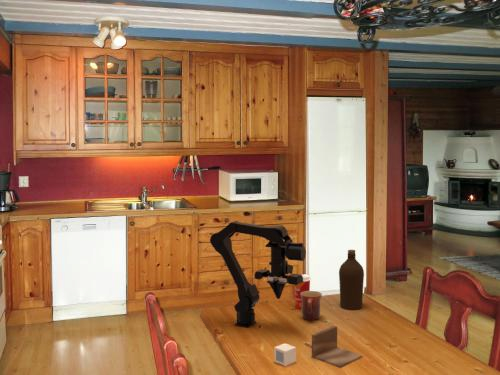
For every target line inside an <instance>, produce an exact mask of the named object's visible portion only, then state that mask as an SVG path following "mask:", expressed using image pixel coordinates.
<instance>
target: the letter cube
mask: <svg viewBox="0 0 500 375" xmlns="http://www.w3.org/2000/svg"><path fill="white" fill-rule="evenodd" d="M296 348H297V347H296V346H293V345H291V344H288V343H286V342H285V343H282V344H279V345H277V346H274V348H273V350H274V363H277V364H279V365H281V366H284V367H287V366H289V365H292V364H293V363H296V362H297V349H296Z"/></svg>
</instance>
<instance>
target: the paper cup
mask: <svg viewBox="0 0 500 375" xmlns="http://www.w3.org/2000/svg"><path fill="white" fill-rule="evenodd" d="M300 274H301V273H300ZM301 275H302V277H303V282H301V283H299V284H297V285H293V287H294V288H293V290H294V302H295V303H294V305H295V309H297V310H301V311H302V298H301V295H300V293H301V292H304V291H311V290H310V289H311V288H310V287H311V286H310V285H311V280H312V279H311V276H310V275H308V274H304V273H302V274H301Z"/></svg>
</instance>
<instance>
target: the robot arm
mask: <svg viewBox="0 0 500 375" xmlns="http://www.w3.org/2000/svg"><path fill="white" fill-rule="evenodd" d="M287 230H288V229H287V228H286V227H285V226H284V225H278V224H277V225H259V224H254V223H247V222H241V221H238V220H235V221H231V222H229V223H228V224H227V225H226V226H225V227H224V228H222V229H221V230H219V231H218V232H215V233H213V234H212V235H211V236H210V237H209V238H210V239H209V242H210V245H211V246H212V248H213V249H214V251H216V252H217V253H218V254H219V255H220V256H221V257H222V259H223V261H224V264H225V265H226V267H227V269H228V271H229V273H230V275H231V277H232V279H233V281H234V284H235V286H236V287H237V288H236V289H237V296H238V300H239V301H237V303H236V304H234V306H233V307H234V311H235V312H236V322H235V323H234V325H235V326H240V327H245V328H249V327H251V326H253V325H254V324H255V325H256V323H257V321H256V313H255V308H254V307H255V306H256V304H257V303H258V302H259V301H260V298H261V297H260V291H259V290H258V288H257V285H256V284H255V283H253V284H251V283H250V282H249V281H248V279H247V276H246V275H245V273H244V271H243V269H242V267H241V265H240V263H239V261H238V258H237V257H236V255H235V253H234V251H233V244H232V239H231V238H232V237H233V236H235V234H236V233H238V234H244V235H250V236H255V237H260V238H263V239H265V240H266V241H268V242H267V244H265V245H264V246H265V248H270V261H269V262H268V265H269V266H270V270H269V269H263V268H261V269H259V270H256V271H255V272H254V274H253V278H254V280H260V281H261V280H262V279H263V278H267V281H266V283H267V284H269V286H270V287H271V289H272V292H273V293H274V295H275V297H276V299H277V300H280V299H281V297H282V294H283V291H284V288H285V286H286V285H287V284H289V285H293V286H294V285H297V284H299V283H301V282H303V277H302V275H303V274H302V275H301V273H293V270H294V265H292V264H288V261H298V262H299V261H300V262H304V261H305V260H306V254H307V252H306V247H305V243H304V242H294V241H293V239H292V238H291V237H290V235H289V234H288V231H287Z"/></svg>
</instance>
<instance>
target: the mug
mask: <svg viewBox="0 0 500 375" xmlns="http://www.w3.org/2000/svg"><path fill="white" fill-rule="evenodd" d="M300 295H301V298H302V310H301V315H302V318H303V319H304V320H306V321H317V320H319V319H320V317H321V300H322V295H323V294H322V292H321V291H316V290H309V291H304V292H301V293H300Z"/></svg>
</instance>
